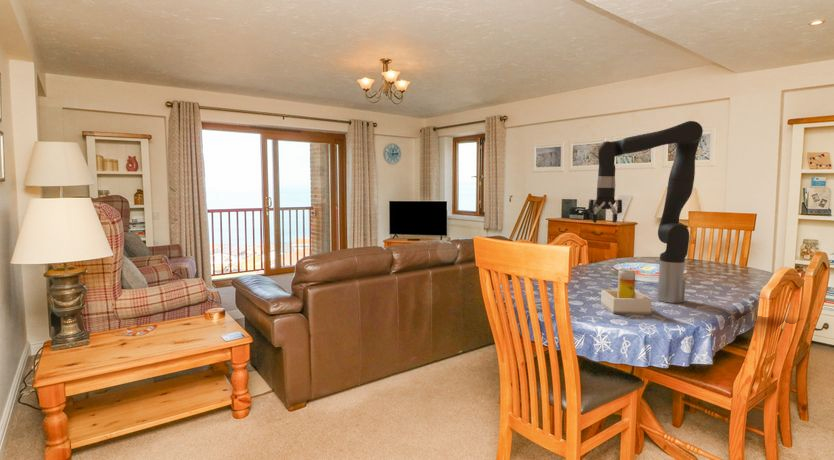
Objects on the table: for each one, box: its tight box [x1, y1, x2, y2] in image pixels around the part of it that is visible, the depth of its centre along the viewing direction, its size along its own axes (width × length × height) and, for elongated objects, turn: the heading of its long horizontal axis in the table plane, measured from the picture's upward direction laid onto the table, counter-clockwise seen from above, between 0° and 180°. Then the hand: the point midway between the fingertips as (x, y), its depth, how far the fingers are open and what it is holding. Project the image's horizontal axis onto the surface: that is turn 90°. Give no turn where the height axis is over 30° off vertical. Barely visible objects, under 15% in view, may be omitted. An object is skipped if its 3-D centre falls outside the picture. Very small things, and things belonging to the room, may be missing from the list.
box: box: [600, 289, 652, 316], centre depth 181 cm, size 14×14×6 cm
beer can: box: [617, 268, 636, 299], centre depth 181 cm, size 6×6×15 cm
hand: (604, 222), depth 206 cm, fingers open, 8 cm apart
